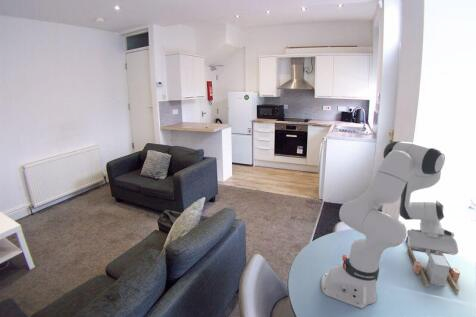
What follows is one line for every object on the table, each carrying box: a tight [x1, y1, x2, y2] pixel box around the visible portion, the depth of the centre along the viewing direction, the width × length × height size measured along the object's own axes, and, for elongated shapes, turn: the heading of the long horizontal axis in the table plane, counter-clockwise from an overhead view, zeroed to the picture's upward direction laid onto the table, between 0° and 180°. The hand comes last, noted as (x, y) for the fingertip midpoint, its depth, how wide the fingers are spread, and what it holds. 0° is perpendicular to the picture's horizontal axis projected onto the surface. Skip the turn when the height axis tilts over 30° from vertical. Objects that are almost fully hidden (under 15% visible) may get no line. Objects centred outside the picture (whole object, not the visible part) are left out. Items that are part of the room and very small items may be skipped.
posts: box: [412, 260, 461, 283], centre depth 127 cm, size 17×3×5 cm, turn 71°
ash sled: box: [419, 253, 460, 295], centre depth 124 cm, size 12×14×9 cm
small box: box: [425, 254, 451, 287], centre depth 124 cm, size 8×6×10 cm
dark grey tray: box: [405, 235, 434, 254], centre depth 148 cm, size 12×9×3 cm
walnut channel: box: [407, 245, 453, 274], centre depth 137 cm, size 15×14×3 cm
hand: (432, 260), depth 131 cm, fingers closed, pressing on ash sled
